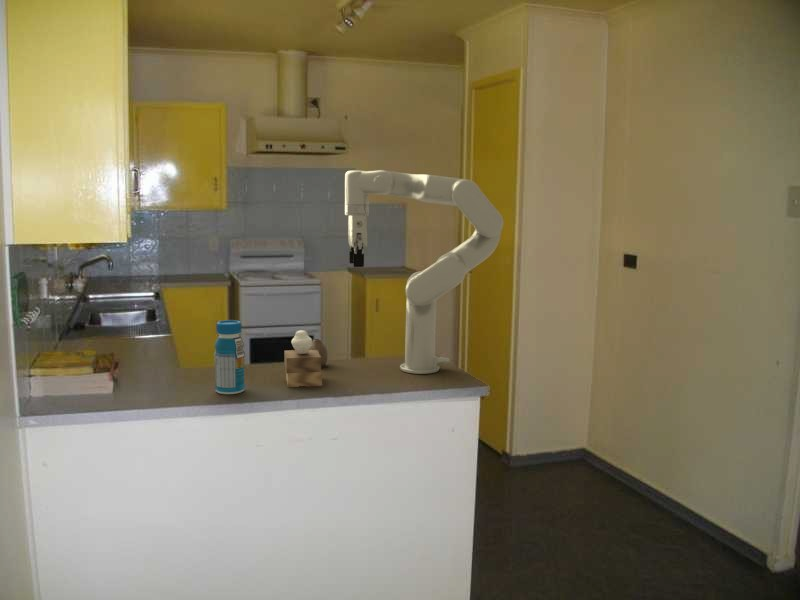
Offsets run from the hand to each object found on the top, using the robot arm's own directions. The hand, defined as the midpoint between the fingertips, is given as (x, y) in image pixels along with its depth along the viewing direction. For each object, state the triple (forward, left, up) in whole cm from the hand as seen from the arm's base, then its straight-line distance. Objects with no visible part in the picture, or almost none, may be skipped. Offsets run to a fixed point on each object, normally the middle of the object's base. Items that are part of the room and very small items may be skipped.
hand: (356, 265), depth 239 cm
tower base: (+18, +15, -34) cm, 41 cm away
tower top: (+18, +15, -29) cm, 37 cm away
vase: (+12, -4, -34) cm, 36 cm away
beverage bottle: (+39, +22, -34) cm, 56 cm away
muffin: (+18, +15, -25) cm, 34 cm away
